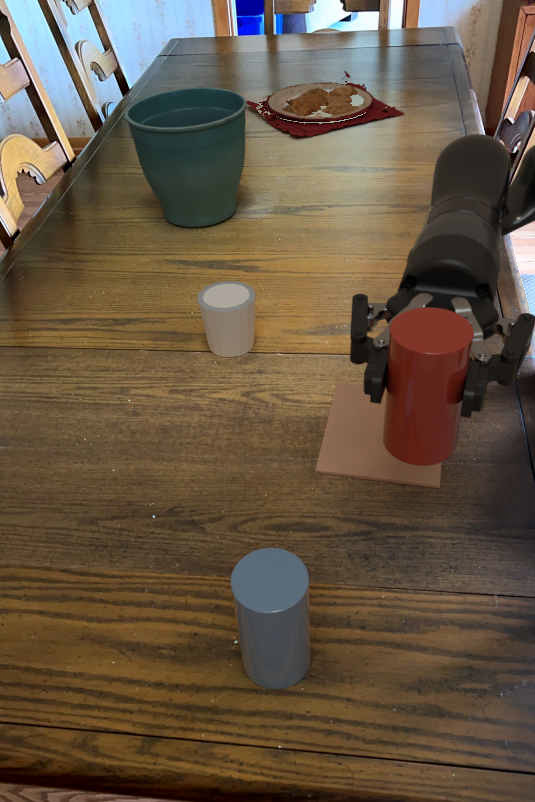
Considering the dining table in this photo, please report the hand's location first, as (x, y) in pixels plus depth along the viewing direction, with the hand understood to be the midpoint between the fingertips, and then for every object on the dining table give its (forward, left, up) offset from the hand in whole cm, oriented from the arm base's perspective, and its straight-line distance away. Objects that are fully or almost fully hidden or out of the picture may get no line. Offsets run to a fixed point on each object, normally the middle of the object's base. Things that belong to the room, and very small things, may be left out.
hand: (420, 399), depth 48 cm
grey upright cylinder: (+9, +9, -20) cm, 23 cm away
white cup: (+23, -31, -20) cm, 44 cm away
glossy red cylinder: (0, -3, -6) cm, 7 cm away
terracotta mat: (+3, -18, -20) cm, 27 cm away
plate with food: (+26, -116, -20) cm, 121 cm away
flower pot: (+38, -66, -20) cm, 79 cm away
